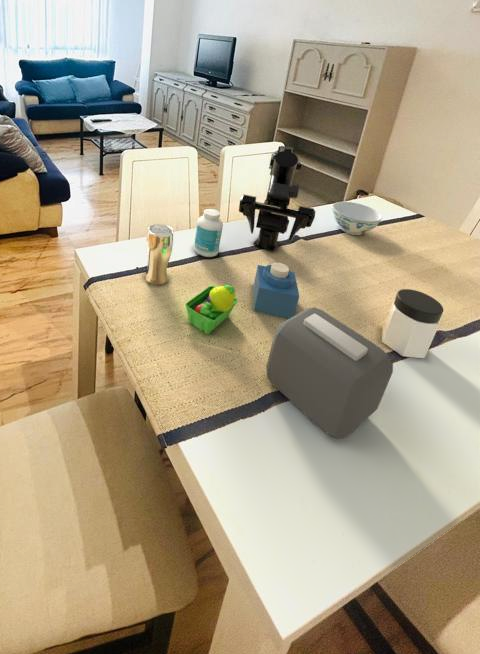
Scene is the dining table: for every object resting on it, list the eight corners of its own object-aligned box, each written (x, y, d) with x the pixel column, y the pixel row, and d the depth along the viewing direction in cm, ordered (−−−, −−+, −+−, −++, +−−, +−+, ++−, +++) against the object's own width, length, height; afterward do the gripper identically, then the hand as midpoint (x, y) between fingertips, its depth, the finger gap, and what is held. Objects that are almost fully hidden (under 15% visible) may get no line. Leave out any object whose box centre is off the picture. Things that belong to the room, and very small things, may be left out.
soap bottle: (253, 286, 103) (259, 258, 100) (288, 294, 101) (296, 265, 98) (253, 310, 94) (260, 280, 91) (293, 319, 92) (301, 289, 89)
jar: (434, 352, 84) (454, 309, 80) (413, 364, 81) (432, 319, 77) (392, 325, 92) (409, 284, 87) (371, 335, 88) (387, 292, 84)
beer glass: (172, 275, 106) (177, 227, 101) (163, 289, 100) (169, 239, 95) (148, 268, 109) (152, 221, 103) (139, 281, 103) (143, 232, 97)
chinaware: (385, 242, 129) (392, 222, 126) (341, 240, 129) (347, 219, 126) (360, 221, 143) (365, 202, 140) (319, 219, 143) (325, 200, 140)
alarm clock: (372, 420, 69) (400, 354, 63) (337, 453, 63) (364, 383, 57) (292, 356, 82) (309, 296, 76) (257, 379, 76) (272, 316, 70)
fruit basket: (208, 300, 97) (215, 262, 93) (240, 319, 91) (248, 280, 87) (181, 322, 89) (186, 282, 85) (214, 344, 84) (221, 302, 79)
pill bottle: (218, 260, 114) (225, 219, 109) (193, 256, 116) (199, 216, 111) (217, 247, 121) (224, 208, 116) (193, 243, 122) (199, 205, 117)
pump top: (269, 267, 97) (271, 261, 96) (286, 271, 96) (288, 264, 95) (270, 277, 93) (272, 269, 92) (288, 280, 92) (289, 273, 91)
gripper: (247, 165, 105) (235, 212, 97) (322, 178, 98) (316, 230, 90) (244, 189, 113) (233, 234, 105) (313, 202, 107) (307, 251, 99)
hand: (270, 237), depth 99 cm, fingers open, 9 cm apart
